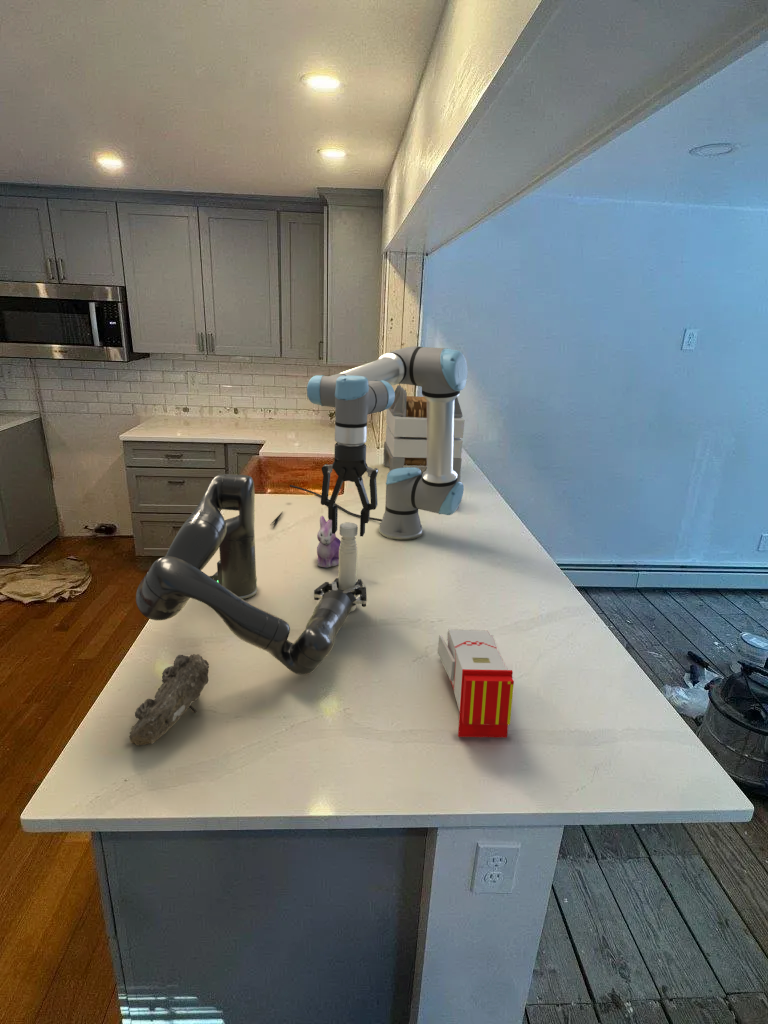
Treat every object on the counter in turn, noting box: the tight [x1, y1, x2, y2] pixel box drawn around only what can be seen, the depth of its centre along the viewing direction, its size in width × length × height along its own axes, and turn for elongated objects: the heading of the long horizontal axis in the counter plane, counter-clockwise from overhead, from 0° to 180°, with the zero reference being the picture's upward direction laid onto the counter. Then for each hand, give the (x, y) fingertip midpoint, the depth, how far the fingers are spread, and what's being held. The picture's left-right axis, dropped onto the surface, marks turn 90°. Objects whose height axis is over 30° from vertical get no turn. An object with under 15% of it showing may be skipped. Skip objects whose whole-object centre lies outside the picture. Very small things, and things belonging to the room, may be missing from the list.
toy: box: [437, 628, 515, 738], centre depth 117 cm, size 12×13×30 cm
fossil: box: [128, 653, 210, 746], centre depth 108 cm, size 22×10×15 cm
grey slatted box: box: [383, 384, 465, 482], centre depth 268 cm, size 34×33×41 cm
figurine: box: [316, 515, 341, 568], centre depth 173 cm, size 9×10×15 cm
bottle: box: [337, 536, 358, 613], centre depth 146 cm, size 5×5×23 cm
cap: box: [339, 521, 359, 538], centre depth 142 cm, size 4×4×2 cm
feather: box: [270, 512, 283, 529], centre depth 212 cm, size 2×28×2 cm
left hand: (350, 581), depth 150 cm, fingers closed on bottle, 4 cm apart
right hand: (348, 532), depth 142 cm, fingers open, 6 cm apart
